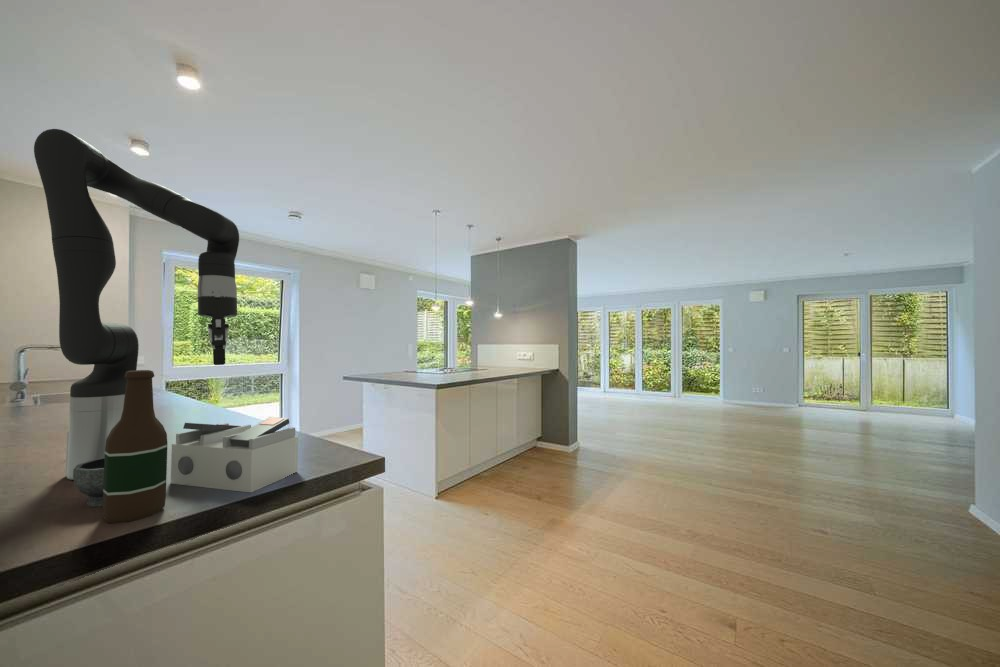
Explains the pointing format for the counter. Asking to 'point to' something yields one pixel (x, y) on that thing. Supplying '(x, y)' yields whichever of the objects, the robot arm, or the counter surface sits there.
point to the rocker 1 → (208, 426)
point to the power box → (233, 459)
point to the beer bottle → (135, 456)
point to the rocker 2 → (259, 430)
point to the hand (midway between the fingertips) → (219, 364)
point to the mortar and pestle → (90, 480)
